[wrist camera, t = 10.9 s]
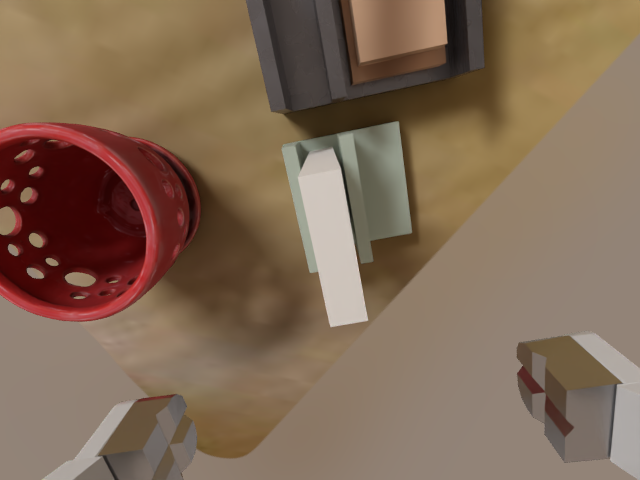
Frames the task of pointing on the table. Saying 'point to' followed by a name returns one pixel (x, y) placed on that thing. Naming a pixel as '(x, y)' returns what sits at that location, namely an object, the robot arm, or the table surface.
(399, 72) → the offcut lower
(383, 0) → the offcut upper
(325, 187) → the tall sheet
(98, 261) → the plant pot
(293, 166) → the sheet stand
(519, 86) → the table surface
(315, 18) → the offcut rack
